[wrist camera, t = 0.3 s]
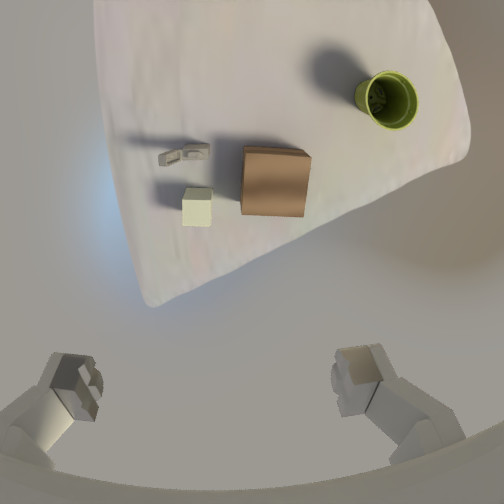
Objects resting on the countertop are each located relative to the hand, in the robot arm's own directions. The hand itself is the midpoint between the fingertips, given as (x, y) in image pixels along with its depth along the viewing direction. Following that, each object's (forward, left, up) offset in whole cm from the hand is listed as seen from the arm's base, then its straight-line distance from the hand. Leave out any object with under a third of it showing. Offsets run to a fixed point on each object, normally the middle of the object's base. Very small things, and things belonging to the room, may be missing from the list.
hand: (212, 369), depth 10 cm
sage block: (+11, -4, -46) cm, 48 cm away
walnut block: (+7, +8, -47) cm, 48 cm away
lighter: (+2, -6, -46) cm, 47 cm away
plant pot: (-10, +24, -46) cm, 53 cm away
